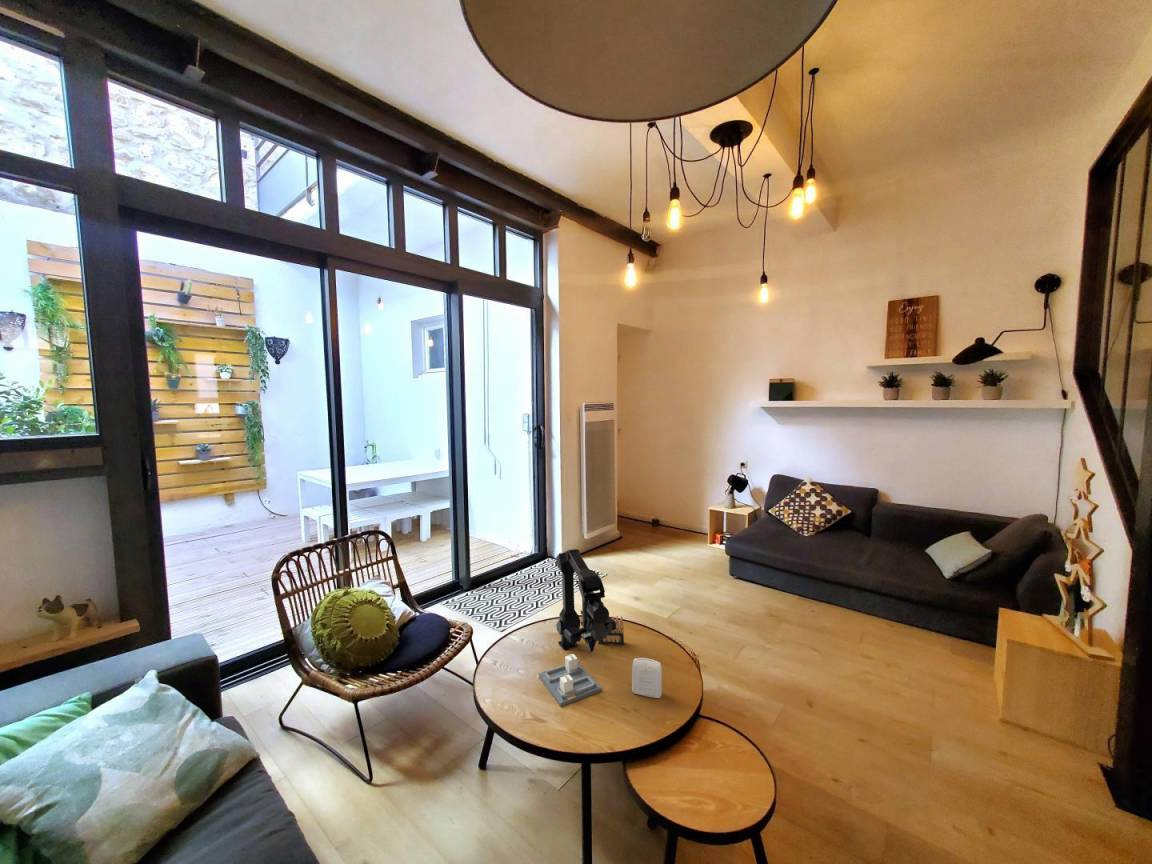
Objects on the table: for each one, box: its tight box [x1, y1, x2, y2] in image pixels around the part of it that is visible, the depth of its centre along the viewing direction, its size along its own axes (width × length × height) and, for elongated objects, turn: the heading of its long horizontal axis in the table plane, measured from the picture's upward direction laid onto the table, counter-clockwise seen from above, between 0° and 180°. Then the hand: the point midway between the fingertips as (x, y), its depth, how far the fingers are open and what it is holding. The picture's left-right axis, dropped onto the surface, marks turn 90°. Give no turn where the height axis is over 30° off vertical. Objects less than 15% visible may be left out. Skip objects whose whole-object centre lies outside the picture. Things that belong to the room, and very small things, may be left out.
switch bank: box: [538, 660, 602, 707], centre depth 159 cm, size 18×16×2 cm
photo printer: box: [631, 657, 663, 699], centre depth 153 cm, size 10×4×12 cm, turn 73°
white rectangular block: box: [564, 653, 578, 672], centre depth 165 cm, size 3×4×5 cm
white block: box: [560, 674, 573, 695], centre depth 153 cm, size 3×4×5 cm
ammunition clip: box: [597, 615, 625, 646], centre depth 184 cm, size 11×2×12 cm, turn 84°
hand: (591, 651), depth 158 cm, fingers closed
